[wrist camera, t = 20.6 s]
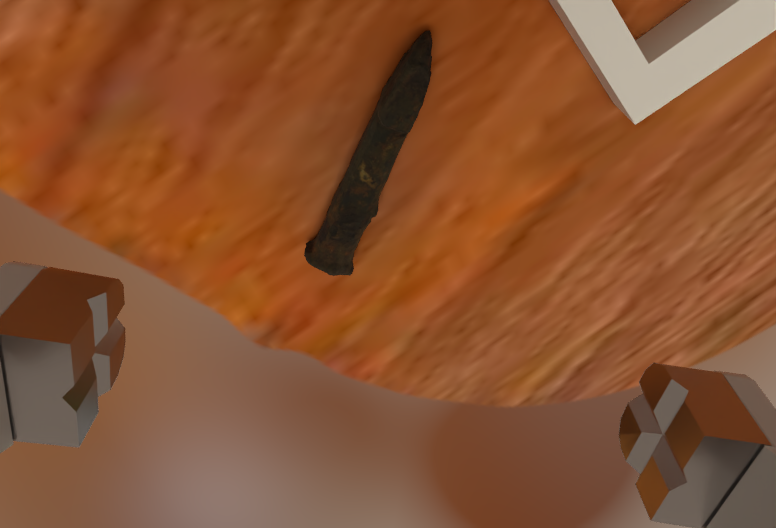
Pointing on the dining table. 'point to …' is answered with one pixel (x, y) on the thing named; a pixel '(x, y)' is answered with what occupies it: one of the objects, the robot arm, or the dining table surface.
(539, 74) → the dining table surface
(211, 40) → the dining table surface
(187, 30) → the dining table surface
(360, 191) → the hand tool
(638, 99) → the rack
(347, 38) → the dining table surface
